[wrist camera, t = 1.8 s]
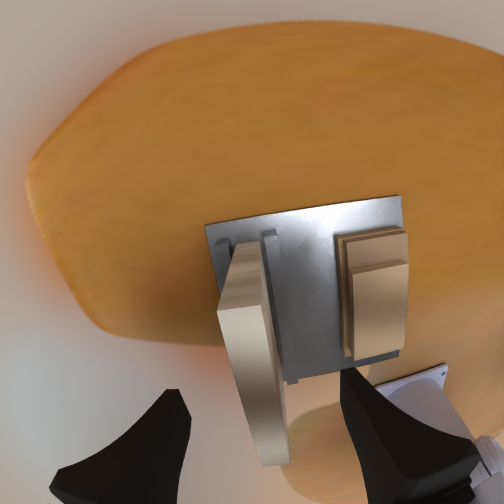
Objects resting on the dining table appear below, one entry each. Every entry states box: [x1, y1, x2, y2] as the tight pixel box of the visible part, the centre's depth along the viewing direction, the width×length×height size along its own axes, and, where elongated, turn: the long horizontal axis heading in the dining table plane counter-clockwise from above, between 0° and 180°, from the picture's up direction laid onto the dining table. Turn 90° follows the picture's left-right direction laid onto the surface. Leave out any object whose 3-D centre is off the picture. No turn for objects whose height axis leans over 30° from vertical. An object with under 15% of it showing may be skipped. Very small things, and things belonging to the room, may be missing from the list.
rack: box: [205, 195, 403, 385], centre depth 19 cm, size 13×13×2 cm
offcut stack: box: [335, 226, 409, 361], centre depth 18 cm, size 9×5×2 cm, turn 10°
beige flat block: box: [217, 241, 290, 466], centre depth 15 cm, size 10×2×9 cm, turn 10°
